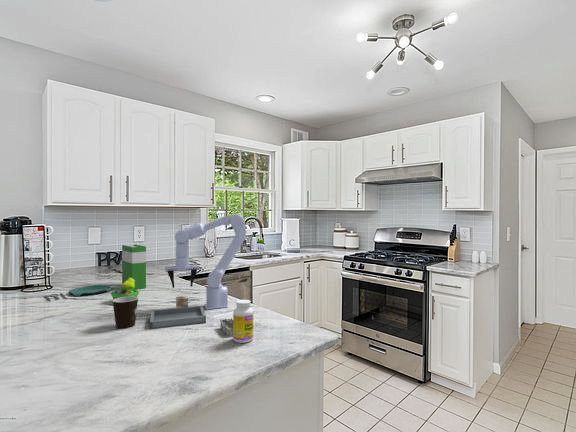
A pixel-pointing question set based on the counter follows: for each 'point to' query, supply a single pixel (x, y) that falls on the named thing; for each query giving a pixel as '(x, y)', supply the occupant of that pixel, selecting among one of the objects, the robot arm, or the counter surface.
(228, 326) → the grey lumpy block
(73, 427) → the counter surface
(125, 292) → the fruit basket
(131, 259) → the green cereal box
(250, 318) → the supplement bottle
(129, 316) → the coffee mug
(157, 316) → the tray
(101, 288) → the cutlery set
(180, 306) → the wooden cube
